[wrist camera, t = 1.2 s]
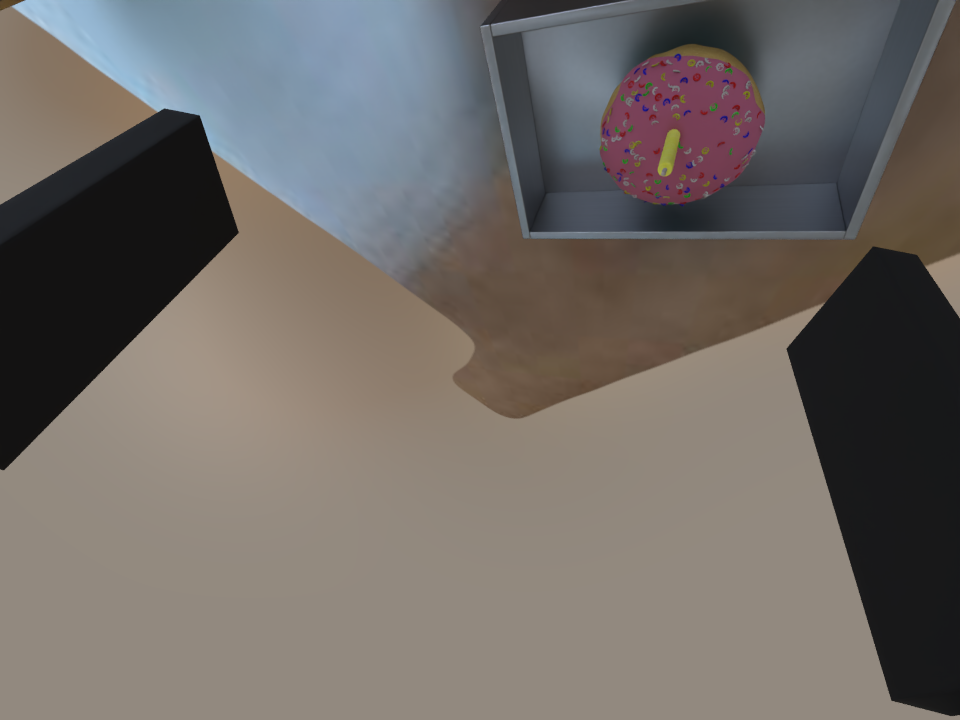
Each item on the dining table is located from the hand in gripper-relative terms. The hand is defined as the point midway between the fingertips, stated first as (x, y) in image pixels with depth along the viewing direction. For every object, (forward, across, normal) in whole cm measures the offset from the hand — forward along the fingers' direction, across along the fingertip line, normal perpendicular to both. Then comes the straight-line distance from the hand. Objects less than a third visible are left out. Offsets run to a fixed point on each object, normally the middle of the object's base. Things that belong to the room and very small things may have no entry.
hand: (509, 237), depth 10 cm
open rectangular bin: (+25, +7, -4) cm, 27 cm away
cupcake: (+25, +7, -4) cm, 27 cm away
